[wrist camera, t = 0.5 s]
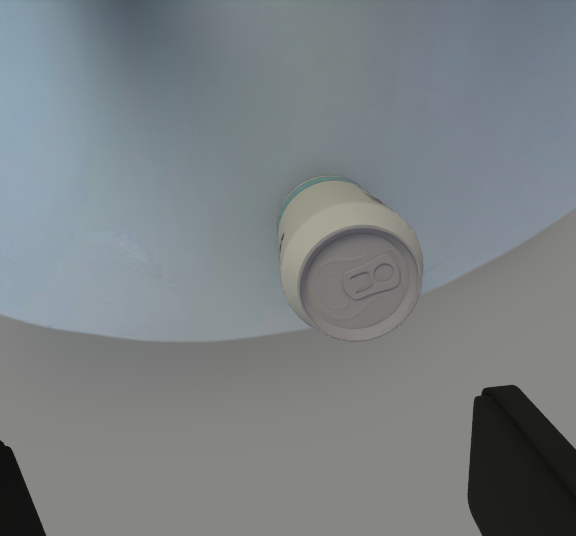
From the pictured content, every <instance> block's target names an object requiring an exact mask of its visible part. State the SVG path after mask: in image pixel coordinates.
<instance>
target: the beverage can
mask: <svg viewBox="0 0 576 536" xmlns="http://www.w3.org/2000/svg"><path fill="white" fill-rule="evenodd" d="M277 232H278V246H279V259H280V272H281V282H282V287H283V291H284V294H285V297H286V299H287V301H288V303H289V305H290V306H291V308H292V309H293V311H294V312H295V313H296V314H297V315H298V317H299V318H300V319H302V320H303V321H304V322H305V323H307V324H308V325H309V326H311V327H313V328H314V329H317V330H319V331H321V332H322V333H324V334H326V335H328V336H330V337H332V338H335V339H338V340H343V341H350V342H351V341H352V342H358V341H367V340H371V339H375V338H378V337H381V336H383V335H385V334H387V333H389V332H390V331H392V330H394V329H395V328H397V327H398V326H399V325H400V324H401V323H402V322H403V321H404V320H405V319H406V318H407V317H408V316H409V314H410V313H411V312H412V310H413V308H414V307H415V305H416V302H417V300H418V297H419V294H420V290H421V281H422V275H423V255H422V251H421V247H420V244H419V241H418V239H417V237H416V235H415V233H414V231H413V230H412V228H411V227H410V226H409V225H408V224H407V222H406V221H405V220H404V219H403V218H401V217H400V216H399V215H398V214H396V213H395V212H394V211H392V210H391V209H390V208H388V207H387V206H386V205H384V204H383V203H382V202H381V201H379V200H378V199H377V198H375V197H374V196H373V195H371V194H370V193H369V192H367V191H366V190H365V189H363V188H362V187H361V186H359V185H358V184H357V183H355V182H353V181H351V180H349V179H347V178H344V177H340V176H332V175H327V176H319V177H315V178H312V179H309V180H307V181H305V182H303V183H301V184H300V185H299V186H297V187H296V188H295V189H294V190H293V191H292V192H291V193H290V194H289V195H288V196H287V198H286V199H285V201H284V202H283V204H282V206H281V209H280V212H279V215H278V221H277Z"/></svg>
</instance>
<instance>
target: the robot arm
mask: <svg viewBox="0 0 576 536" xmlns="http://www.w3.org/2000/svg"><path fill="white" fill-rule="evenodd" d="M468 504H469V508H470V511H471V514H472V516H473V518H474V520H475V522H476V524H477V526H478V528H479V530H480V532H481V534H482V536H576V449H575V448H574V447H573V446H572V445H571V444H570V443H569V442H568V441H567V440H566V439H565V438H564V436H563V435H562V434H561V433H560V432H559V431H558V430H557V429H556V428H555V427H554V426H553V425H552V424H551V422H550V421H549V420H548V419H547V418H546V417H545V416H544V415H543V414H542V413H541V412H540V410H539V409H538V408H537V407H536V406H535V405H534V404H533V403H532V402H531V401H530V400H529V399H528V398H527V396H526V395H525V394H524V393H523V392H522V391H521V390H520V389H519V388H518V387H517V386H514V385H507V386H498V387H488V388H484V389H483V391H482V394H481V396H477V397H475V399H474V407H473V421H472V437H471V451H470V466H469V481H468ZM0 536H46V534H45V532H44V529H43V526H42V524H41V521H40V519H39V516H38V514H37V511H36V509H35V506H34V504H33V501H32V499H31V496H30V494H29V491H28V489H27V486H26V484H25V481H24V478H23V476H22V474H21V471H20V468H19V466H18V463H17V461H16V458H15V456H14V454H13V451H12V449H11V448H10V447H8V446H5V445H4V443H3V442H2V441H0Z"/></svg>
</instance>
